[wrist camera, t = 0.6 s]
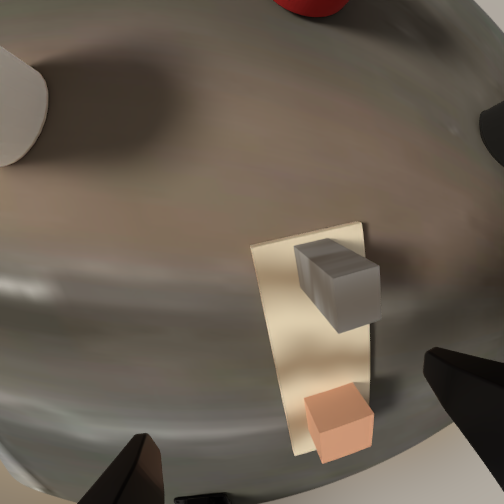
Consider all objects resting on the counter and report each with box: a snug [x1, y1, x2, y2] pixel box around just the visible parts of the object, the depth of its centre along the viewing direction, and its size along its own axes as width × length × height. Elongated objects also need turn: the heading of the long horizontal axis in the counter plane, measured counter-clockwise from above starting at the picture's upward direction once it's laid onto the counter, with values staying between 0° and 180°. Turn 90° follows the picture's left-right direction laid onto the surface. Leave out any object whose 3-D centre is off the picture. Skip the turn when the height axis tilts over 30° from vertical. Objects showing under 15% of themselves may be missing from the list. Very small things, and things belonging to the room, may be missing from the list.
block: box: [304, 382, 374, 464], centre depth 22 cm, size 4×4×4 cm
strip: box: [250, 221, 382, 456], centre depth 20 cm, size 22×8×8 cm, turn 11°
